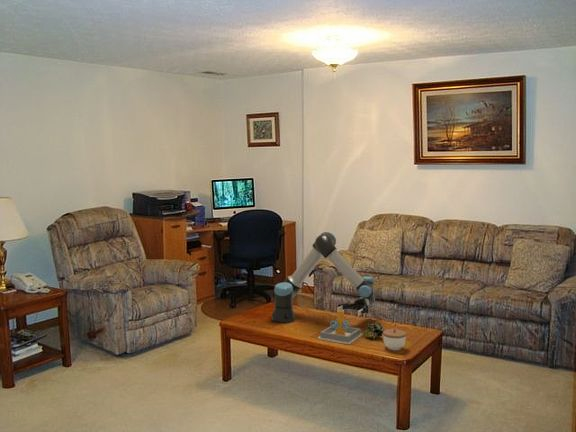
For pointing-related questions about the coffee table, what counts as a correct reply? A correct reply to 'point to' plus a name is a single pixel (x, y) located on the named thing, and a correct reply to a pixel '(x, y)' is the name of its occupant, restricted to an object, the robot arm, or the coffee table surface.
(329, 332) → the holder tray
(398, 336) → the lidded bowl
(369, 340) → the coffee table surface
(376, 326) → the passion flower
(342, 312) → the orange tube
